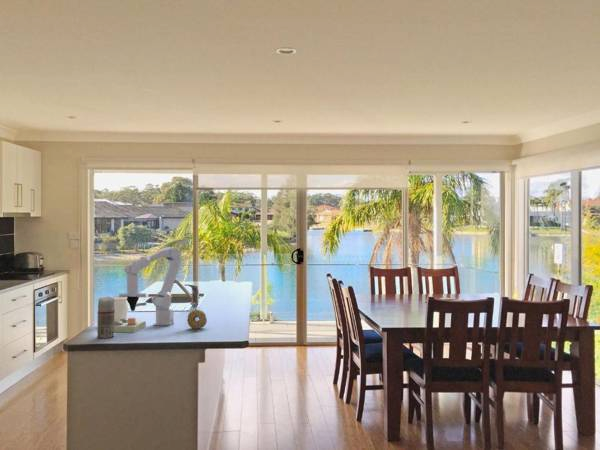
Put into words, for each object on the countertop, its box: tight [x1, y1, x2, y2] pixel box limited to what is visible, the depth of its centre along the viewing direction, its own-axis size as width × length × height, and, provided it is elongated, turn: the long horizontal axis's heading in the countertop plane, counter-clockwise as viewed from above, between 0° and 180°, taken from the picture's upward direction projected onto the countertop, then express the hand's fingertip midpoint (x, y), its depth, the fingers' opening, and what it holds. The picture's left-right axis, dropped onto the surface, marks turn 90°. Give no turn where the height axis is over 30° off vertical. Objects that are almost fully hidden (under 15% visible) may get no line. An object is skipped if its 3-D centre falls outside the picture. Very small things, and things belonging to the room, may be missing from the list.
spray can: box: [96, 296, 115, 339], centre depth 275 cm, size 8×8×20 cm
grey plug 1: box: [114, 321, 122, 326], centre depth 291 cm, size 4×4×4 cm
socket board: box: [114, 320, 147, 333], centre depth 294 cm, size 15×15×3 cm
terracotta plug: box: [127, 317, 137, 325], centre depth 292 cm, size 4×4×4 cm
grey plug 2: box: [120, 317, 128, 323], centre depth 299 cm, size 4×4×4 cm
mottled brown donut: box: [187, 309, 208, 330], centre depth 295 cm, size 10×4×10 cm, turn 87°
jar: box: [110, 295, 129, 321], centre depth 310 cm, size 11×10×15 cm
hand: (132, 310), depth 295 cm, fingers closed
